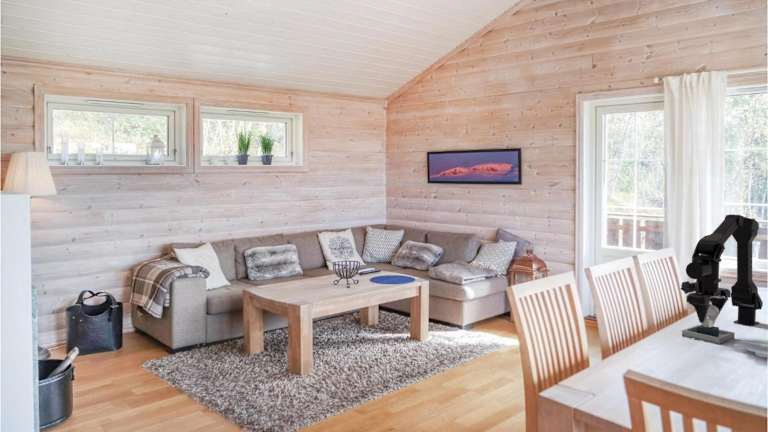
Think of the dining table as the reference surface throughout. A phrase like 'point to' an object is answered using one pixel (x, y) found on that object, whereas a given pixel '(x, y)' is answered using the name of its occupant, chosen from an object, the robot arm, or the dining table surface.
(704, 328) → the watch
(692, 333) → the tray
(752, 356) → the dining table surface
